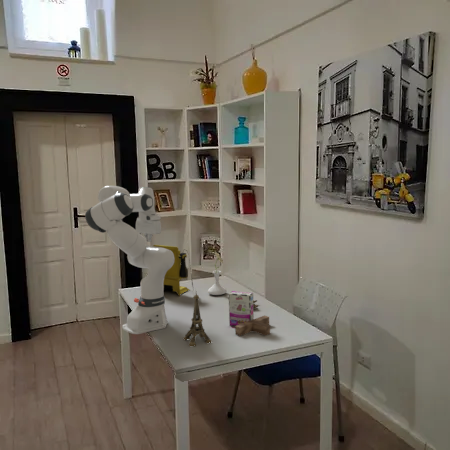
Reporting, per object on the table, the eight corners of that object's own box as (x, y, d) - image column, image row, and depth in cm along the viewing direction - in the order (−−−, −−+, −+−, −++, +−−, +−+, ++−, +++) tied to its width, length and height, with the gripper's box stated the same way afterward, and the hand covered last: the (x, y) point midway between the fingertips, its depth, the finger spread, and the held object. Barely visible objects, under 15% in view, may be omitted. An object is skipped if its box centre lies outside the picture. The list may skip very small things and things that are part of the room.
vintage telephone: (202, 292, 277) (201, 243, 273) (190, 298, 265) (189, 248, 261) (160, 286, 292) (158, 240, 287) (147, 292, 280) (145, 244, 275)
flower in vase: (226, 296, 267) (225, 255, 264) (207, 296, 268) (206, 255, 264) (226, 290, 280) (226, 250, 277) (208, 290, 280) (207, 250, 277)
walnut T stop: (252, 340, 202) (252, 332, 201) (235, 334, 210) (235, 326, 209) (281, 329, 215) (281, 321, 215) (264, 323, 223) (264, 315, 223)
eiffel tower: (190, 347, 197) (188, 291, 193) (182, 338, 206) (180, 285, 203) (212, 342, 201) (211, 288, 197) (204, 334, 210) (202, 282, 207)
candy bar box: (254, 325, 221) (253, 292, 219) (250, 328, 216) (250, 295, 214) (232, 322, 225) (232, 290, 223) (229, 325, 221) (228, 293, 218)
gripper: (132, 216, 255) (133, 241, 256) (152, 217, 240) (154, 243, 241) (141, 215, 259) (143, 239, 260) (162, 216, 244) (164, 242, 245)
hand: (148, 241), depth 250 cm, fingers closed
